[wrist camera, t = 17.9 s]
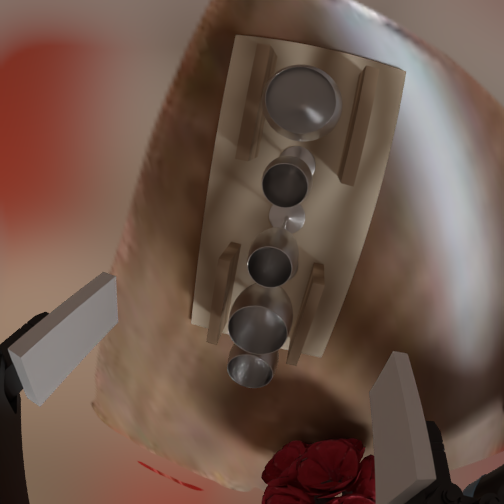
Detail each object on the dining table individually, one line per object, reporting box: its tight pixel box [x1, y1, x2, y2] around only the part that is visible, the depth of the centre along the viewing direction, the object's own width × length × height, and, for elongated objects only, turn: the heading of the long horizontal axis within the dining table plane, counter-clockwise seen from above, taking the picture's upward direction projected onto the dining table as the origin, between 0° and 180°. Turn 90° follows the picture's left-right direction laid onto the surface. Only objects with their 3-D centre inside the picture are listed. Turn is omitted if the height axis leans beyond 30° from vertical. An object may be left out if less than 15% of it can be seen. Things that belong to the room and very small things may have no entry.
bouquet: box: [262, 438, 376, 504], centre depth 40 cm, size 22×24×30 cm
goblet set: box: [227, 64, 342, 388], centre depth 28 cm, size 28×6×13 cm, turn 172°
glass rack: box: [191, 35, 406, 366], centre depth 32 cm, size 18×36×6 cm, turn 169°
